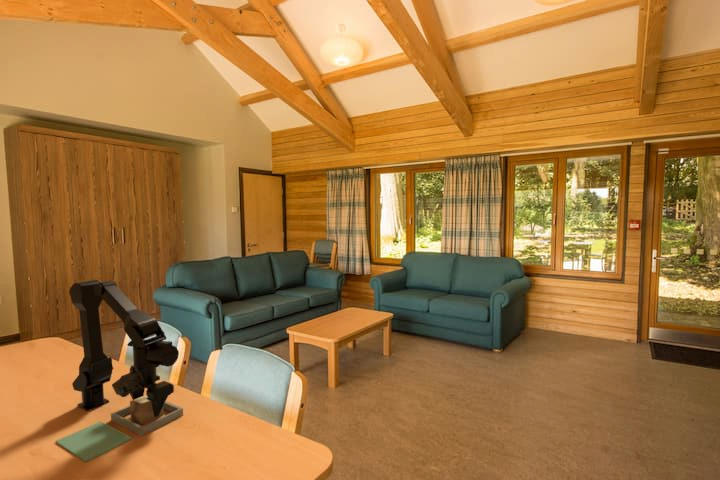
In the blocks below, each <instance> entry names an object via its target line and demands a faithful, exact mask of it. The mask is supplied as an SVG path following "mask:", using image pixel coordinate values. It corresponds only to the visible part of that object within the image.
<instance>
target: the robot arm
mask: <svg viewBox="0 0 720 480" xmlns="http://www.w3.org/2000/svg"><path fill="white" fill-rule="evenodd" d="M68 293H69V296H70V301H71V303H72V305H73V306H74V307H75V308H76V309H77V310H78V312H79V320H80V330H81V337H82V346H83V355H84V356H83V358H82V360H81V362H80V363H79V366H78V376H76V378H75V380H73V382H72V384H71V385H72V388H73V390H74V391H77V392H81V402H80V403H77V407H79V408H80V409H82V410H84V411H87V412H88V411H91V410H93V409H96V408H98V407H100V406H103V405H106V404H108V403H109V402H110V400H109V399H107V398H105V395H104V393H105V392H104V384H106V383H109V382H110V381H111V378H112V375H113V370H114V367H113V359H112V357H110V356H109V357H108V356H107V355H106V353H105V352H104V348H103V347H104V345H103V337H102V328H101V326H102V325H101V318H100V310H99V309H100V306H101V304H102V303H103V301H104V302H105V304H107V306H109V308H110V309H111V310H112V311H113V312H114V314H116V315H117V316H118V318H119V319H120V320H121V321H122V323H123V330H124V332H125V333H126V335H127V337H128V338H129V339H130V341H129V342H128V343H127V346H128V347H132V356H133V358H132V359H133V364H132V365H131V366H130V367H129V372H128V373H126V374H122V375H121V377H119V379H117V380H115V382H113V383H112V384H111V387H112V388H113V390H114V392H115V394H116V395H117V396H120V397H121V398H126V397H128V396H129V395H130V397H131V401H132V400H134V399H137V398H139V397H142V396H144V395H147V397H148V398H146V399H148V400H150V401H151V402H152V408H153V414H154V417H157V416H159V414H160V412H161V409H162V407H163V405H164V403H165V401H166V400H167V399H168V397H169V396H171V394H173V393H174V392H175V385H174V384H172V383H170V382H168V381H166V380H162V381H160V378H161V376H160V375H157V368H158V367H160V366H162V367H168V368H169V367H172V366H174V365H175V364H176V362H177V360H178V358H179V355H180V352H179V349H178V348H177V346H175V345H173V341H170V340H169V341H168V340H167V336H166V334H165V331H164V330H163V329H162V328H161V326H160V324H159V322H158V320H157V319H156V318H155V317H153V315H152V314H150V313H148V312H146V311H142V310H140V309H139V308H138V307H137V306H136V305H135V304H134V303H133V302H132V301H131V300H130V299H129V298H128V296H126V295H125V293H124V292H122V290H121V289H120V288H119V286H118V285H117V282H116V281H114V280H108V281H107V280H106V281H100V280H98V279H90V280H84V281H79V282H74V283H73V284H72V285H71V287H70V288H69V292H68ZM166 340H167V341H166ZM157 381H159V382H157ZM156 382H157V383H156ZM145 389H147V390H146V391H145ZM145 392H146V394H145ZM166 402H167V401H166Z"/></svg>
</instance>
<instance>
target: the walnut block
mask: <svg viewBox="0 0 720 480" xmlns="http://www.w3.org/2000/svg"><path fill="white" fill-rule="evenodd" d="M146 398H148V397H147V395H146V394H144V395H143V396H142V397H139V398H137V399H134V400H132V399H131V400H129V406H130V412H131V413H130V421H132V422H134V423H136V424H138V425H140V426H144V425H146V424H148V423H150V422H152V421H153V420H154V421H155V420H157V419H159V417H160V418H161V417H163V416H165V412H164V410H165V409H164V406H163V407H162V409H161V412H160V414H159V416H157V417H154V414H153V408H152V402H151V401H150V400H148V399H146Z"/></svg>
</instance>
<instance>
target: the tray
mask: <svg viewBox="0 0 720 480" xmlns="http://www.w3.org/2000/svg"><path fill="white" fill-rule="evenodd" d="M163 406H164V410H166V411H168V412H169V413H168V414H166V415H165V414H164V415H162V416H160V418H159V417H158V418H156V419H154V421H153V420H152V421H150V422H148V423H146V424H144V425H141V426H140V425H138V424H136V423H134V422H132V421H131V419H130V420H129V419H128V418H126V417H125V416H128V415H129V414H130V415H131V412H130V405H128V406H126V407H124V408H121V409H118V410H117V411H113V412H111V413H110V421H111V422H114V423H116V424H117V425H120V426H122V427H124V429H125V428H126V429H127V430H129V431H131V432H133V433H135V434H137V435H138V436H141V437H142V436H144V435H146V434H149V433H150V432H152V431H154V430H157V429H158V428H160V427H162V426H165V425H166V424H168V423H170V422H172V421H174V420H176V419H178V418H180V417H182V416H184V408H183V407H180V406H178V405H175V404H173V403H171V402H168V401H165V403H164V405H163Z"/></svg>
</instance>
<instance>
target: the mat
mask: <svg viewBox="0 0 720 480" xmlns="http://www.w3.org/2000/svg"><path fill="white" fill-rule="evenodd" d="M131 440H132V437H131V436H130V435H127V434H126V433H124V432H122V431H120V430H118V429H116V428H114V427H112V426H111V425H108V424H107V423H104V422H103V421H101V420H100V421H99V422H96V423H94V424H92V425H89V426H86V427H84V428H82V429H80V430H78V431H75V432H73V433H71V434H68V435H66V436H63V437H62V438H58V439H57V440H55V443H56V444H57V445H59V446H61V447H62V448H64V449H66V450H67V451H69V452H70V453H71V454H73V455H75V456H76V457H78V458H79V459H81V460H82V461H83V462H84V463H87V462H89V461H91V460H93V459H94V458H97V457H99V456H101V455H103V454H104V453H107V452H109V451H112V450H113V449H114V448H116V447H119V446H120V445H121V446H122V445H123V444H125V443H127V442H129V441H131Z"/></svg>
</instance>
